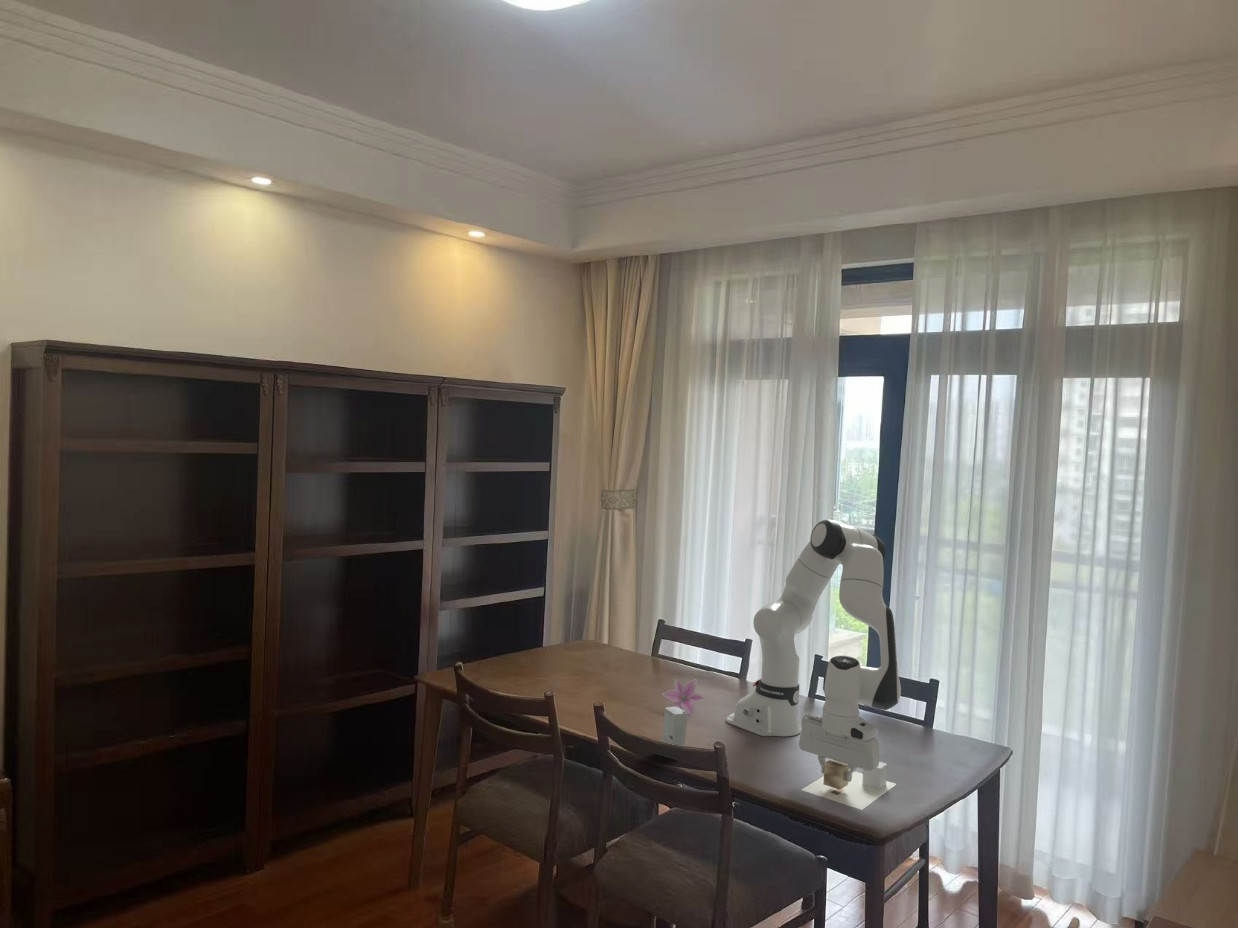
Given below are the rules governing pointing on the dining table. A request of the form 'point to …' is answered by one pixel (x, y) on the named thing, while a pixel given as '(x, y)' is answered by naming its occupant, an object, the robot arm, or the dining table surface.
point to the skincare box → (674, 726)
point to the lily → (684, 695)
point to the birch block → (835, 774)
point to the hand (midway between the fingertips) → (836, 776)
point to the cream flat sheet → (849, 791)
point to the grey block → (875, 777)
